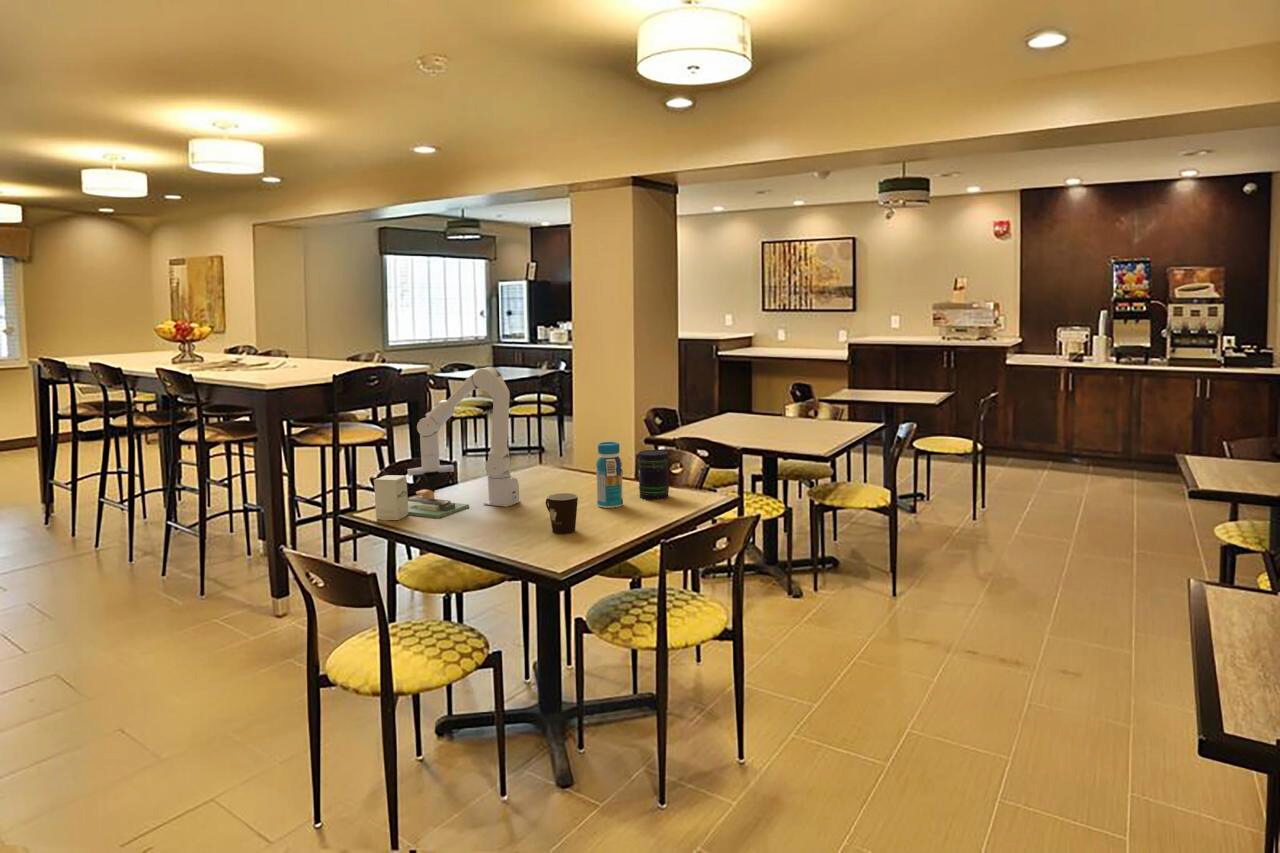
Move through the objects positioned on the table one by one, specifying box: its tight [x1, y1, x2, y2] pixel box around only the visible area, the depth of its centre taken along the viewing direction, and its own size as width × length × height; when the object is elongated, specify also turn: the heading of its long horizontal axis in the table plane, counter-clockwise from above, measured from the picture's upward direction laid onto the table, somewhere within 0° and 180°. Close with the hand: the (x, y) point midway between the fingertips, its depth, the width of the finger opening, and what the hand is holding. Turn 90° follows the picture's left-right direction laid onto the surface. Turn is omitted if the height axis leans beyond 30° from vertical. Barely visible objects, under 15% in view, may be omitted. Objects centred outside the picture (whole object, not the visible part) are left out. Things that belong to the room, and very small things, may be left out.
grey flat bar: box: [408, 496, 452, 505], centre depth 268 cm, size 14×4×1 cm, turn 64°
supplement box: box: [373, 474, 409, 521], centre depth 259 cm, size 7×7×13 cm
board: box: [408, 502, 470, 519], centre depth 268 cm, size 18×15×2 cm
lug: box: [415, 489, 436, 499], centre depth 274 cm, size 3×5×4 cm, turn 154°
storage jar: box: [638, 449, 670, 501], centre depth 280 cm, size 10×10×15 cm
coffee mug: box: [545, 492, 579, 535], centre depth 241 cm, size 12×9×10 cm
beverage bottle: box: [595, 441, 624, 509], centre depth 268 cm, size 8×8×20 cm
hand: (432, 495), depth 278 cm, fingers closed, pressing on lug
